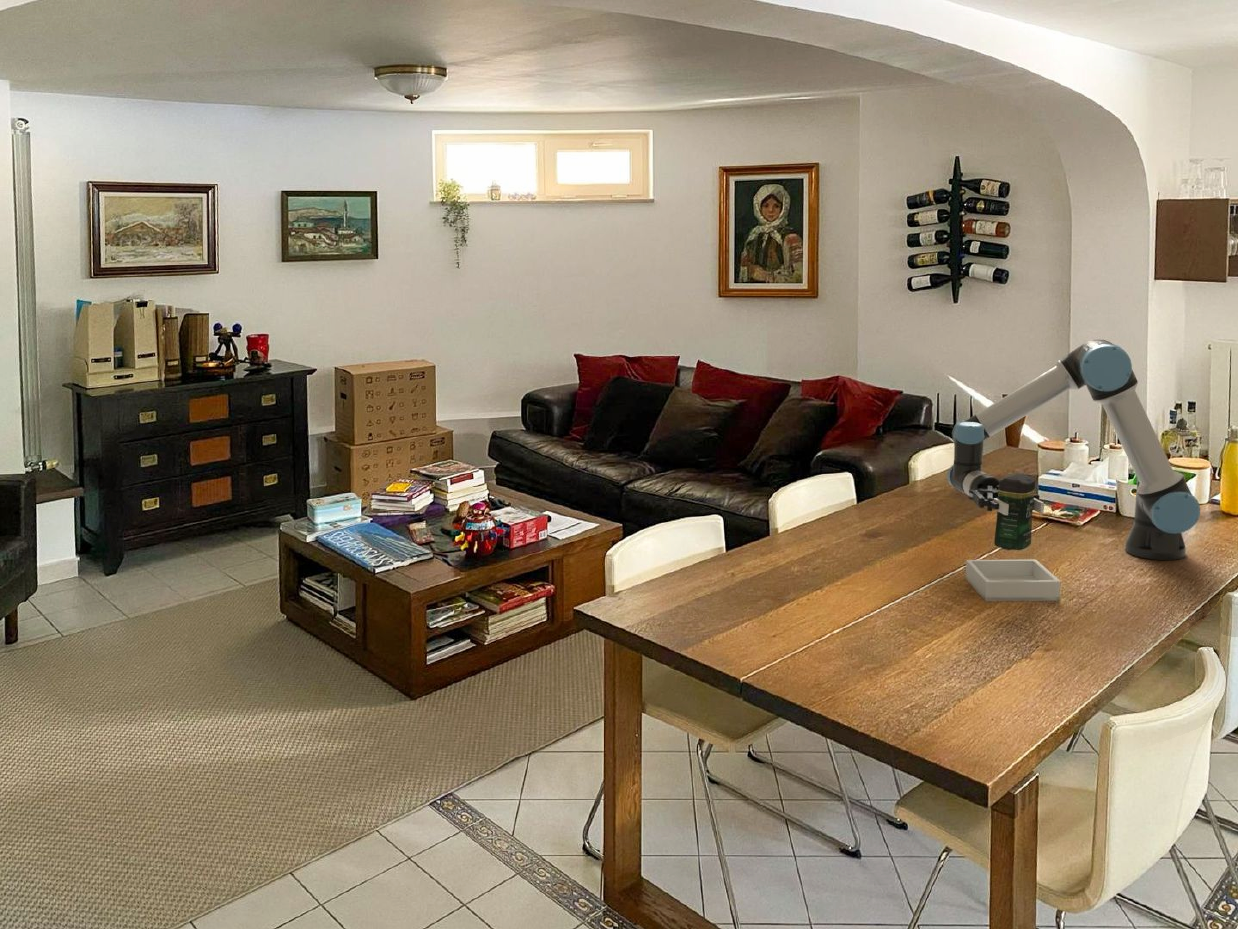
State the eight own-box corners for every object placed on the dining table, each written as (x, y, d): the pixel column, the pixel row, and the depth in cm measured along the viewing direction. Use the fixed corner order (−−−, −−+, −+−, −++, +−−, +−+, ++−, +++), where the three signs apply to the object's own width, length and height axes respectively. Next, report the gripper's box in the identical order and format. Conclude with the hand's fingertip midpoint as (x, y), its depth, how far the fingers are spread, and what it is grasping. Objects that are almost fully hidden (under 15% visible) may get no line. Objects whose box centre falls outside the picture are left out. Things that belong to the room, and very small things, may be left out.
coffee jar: (1021, 553, 264) (1026, 480, 260) (990, 548, 270) (994, 476, 266) (1035, 544, 272) (1040, 473, 268) (1004, 539, 277) (1009, 469, 273)
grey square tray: (1034, 577, 281) (1035, 559, 280) (1059, 600, 263) (1060, 581, 262) (965, 578, 282) (966, 560, 281) (985, 601, 264) (986, 582, 263)
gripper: (1019, 499, 288) (1064, 521, 266) (944, 503, 285) (982, 525, 263) (1021, 472, 286) (1066, 492, 264) (945, 475, 284) (984, 496, 262)
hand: (1024, 509), depth 264 cm, fingers closed on coffee jar, 8 cm apart
